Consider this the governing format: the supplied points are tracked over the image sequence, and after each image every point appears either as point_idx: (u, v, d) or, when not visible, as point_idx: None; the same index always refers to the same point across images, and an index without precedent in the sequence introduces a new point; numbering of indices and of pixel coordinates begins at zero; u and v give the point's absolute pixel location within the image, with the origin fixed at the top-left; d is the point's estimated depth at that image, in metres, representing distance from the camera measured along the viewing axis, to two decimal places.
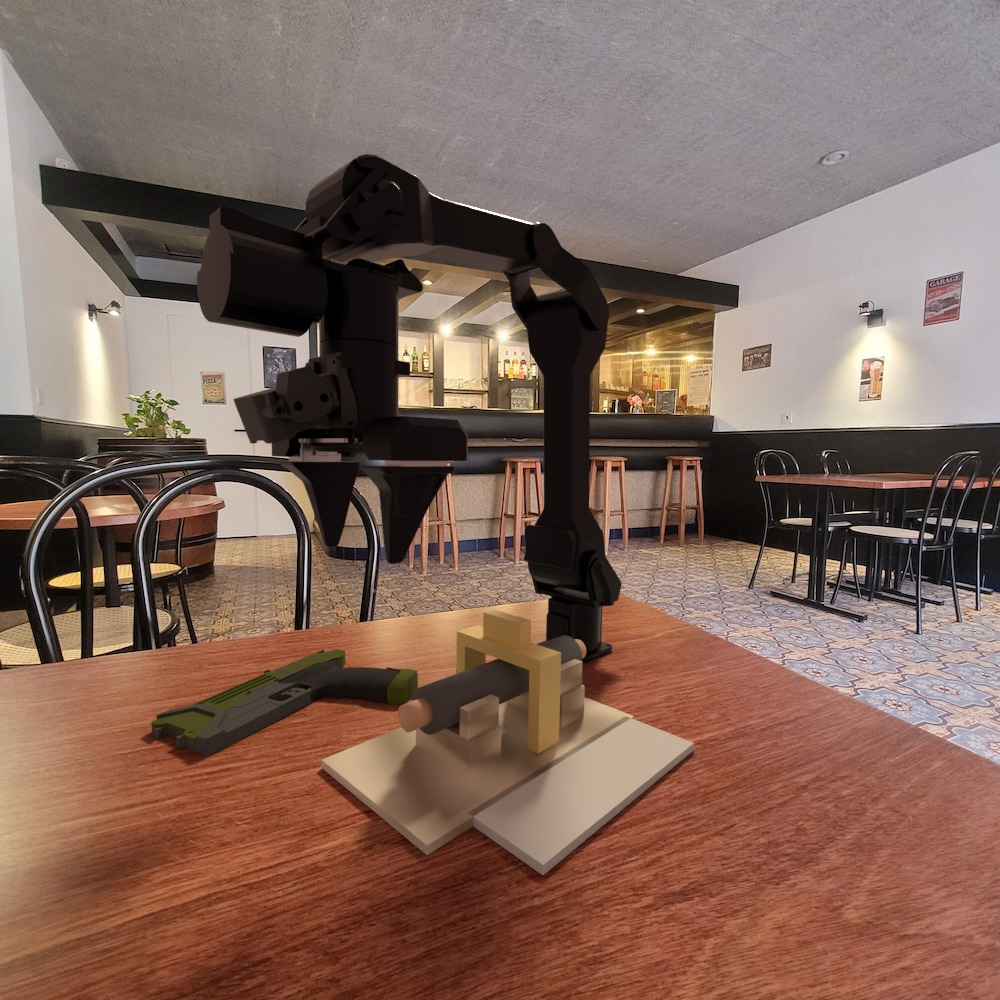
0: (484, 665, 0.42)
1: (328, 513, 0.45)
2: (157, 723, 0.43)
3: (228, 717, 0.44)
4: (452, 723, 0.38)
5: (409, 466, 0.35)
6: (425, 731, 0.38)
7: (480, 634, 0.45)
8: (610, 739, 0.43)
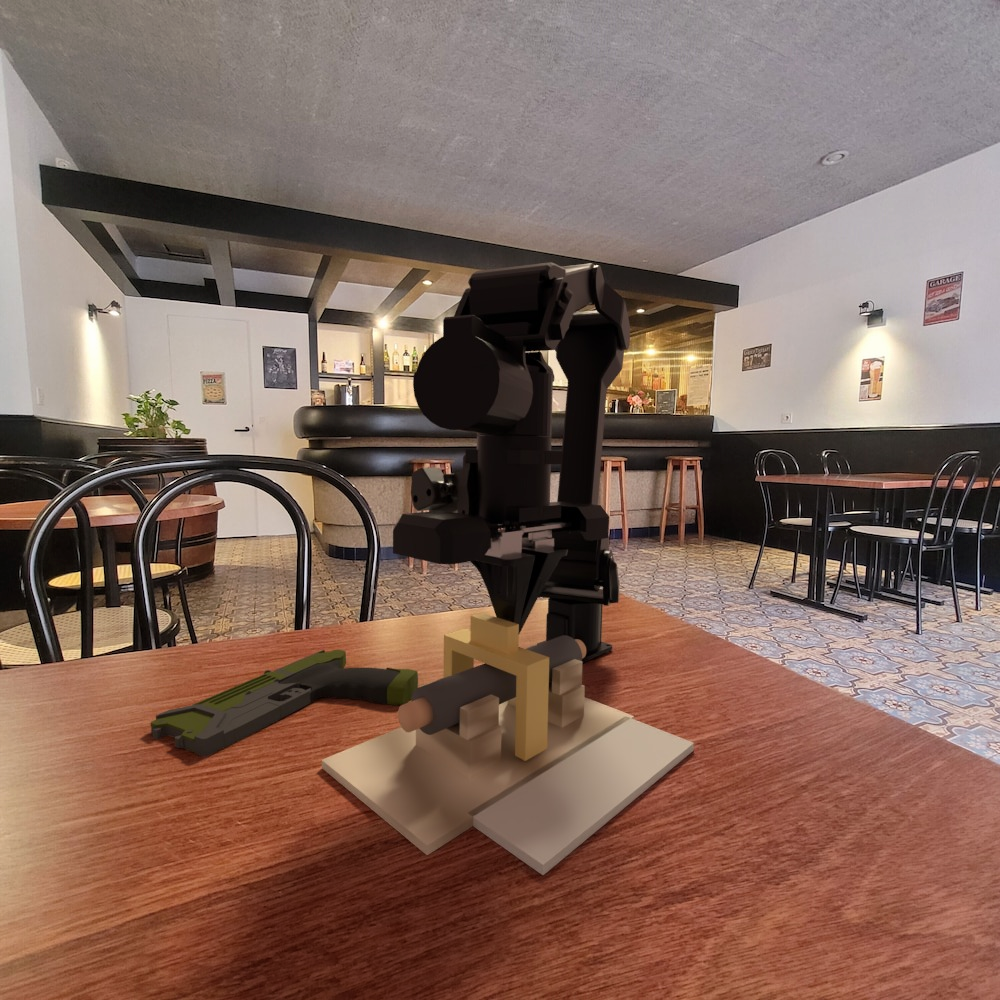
0: (484, 665, 0.42)
1: None
2: (156, 723, 0.43)
3: (227, 717, 0.44)
4: (452, 723, 0.38)
5: None
6: (425, 731, 0.38)
7: (467, 638, 0.44)
8: (610, 739, 0.43)
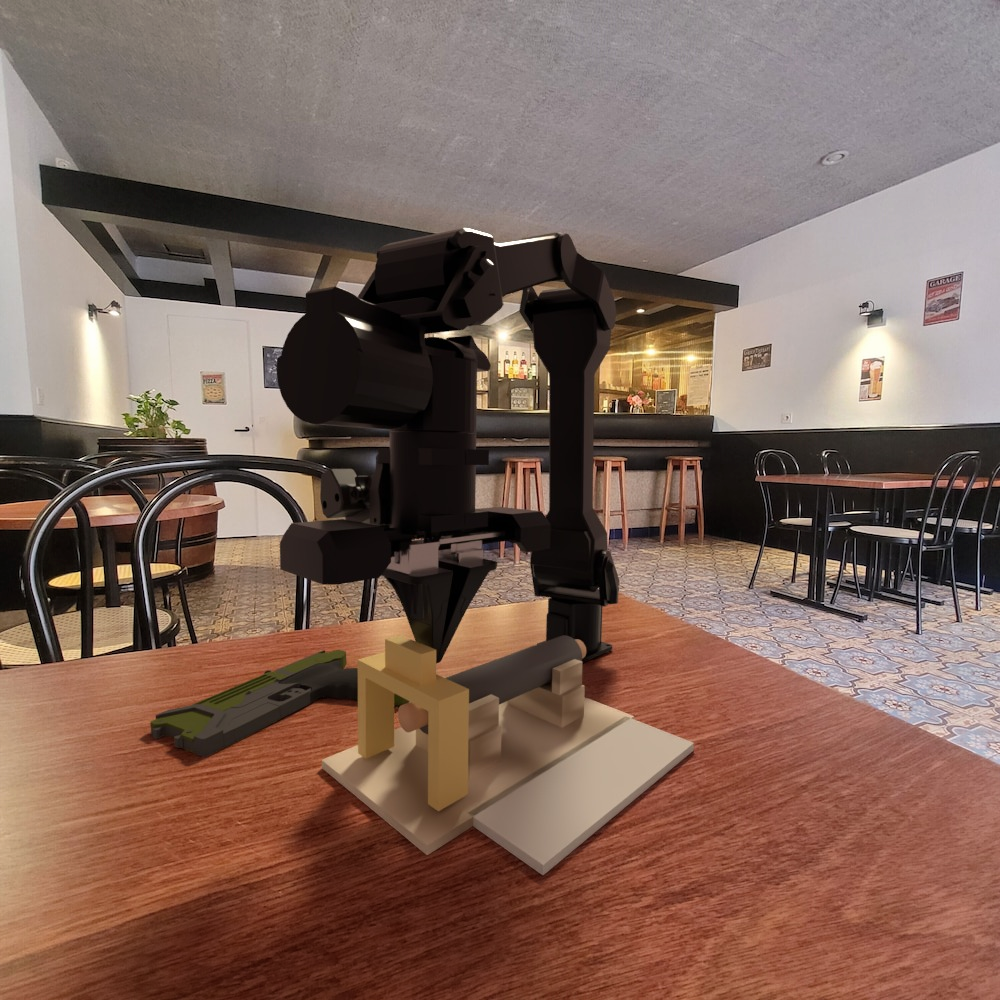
0: (484, 665, 0.42)
1: None
2: (156, 723, 0.43)
3: (227, 717, 0.44)
4: None
5: None
6: (425, 731, 0.38)
7: (383, 664, 0.38)
8: (610, 739, 0.43)
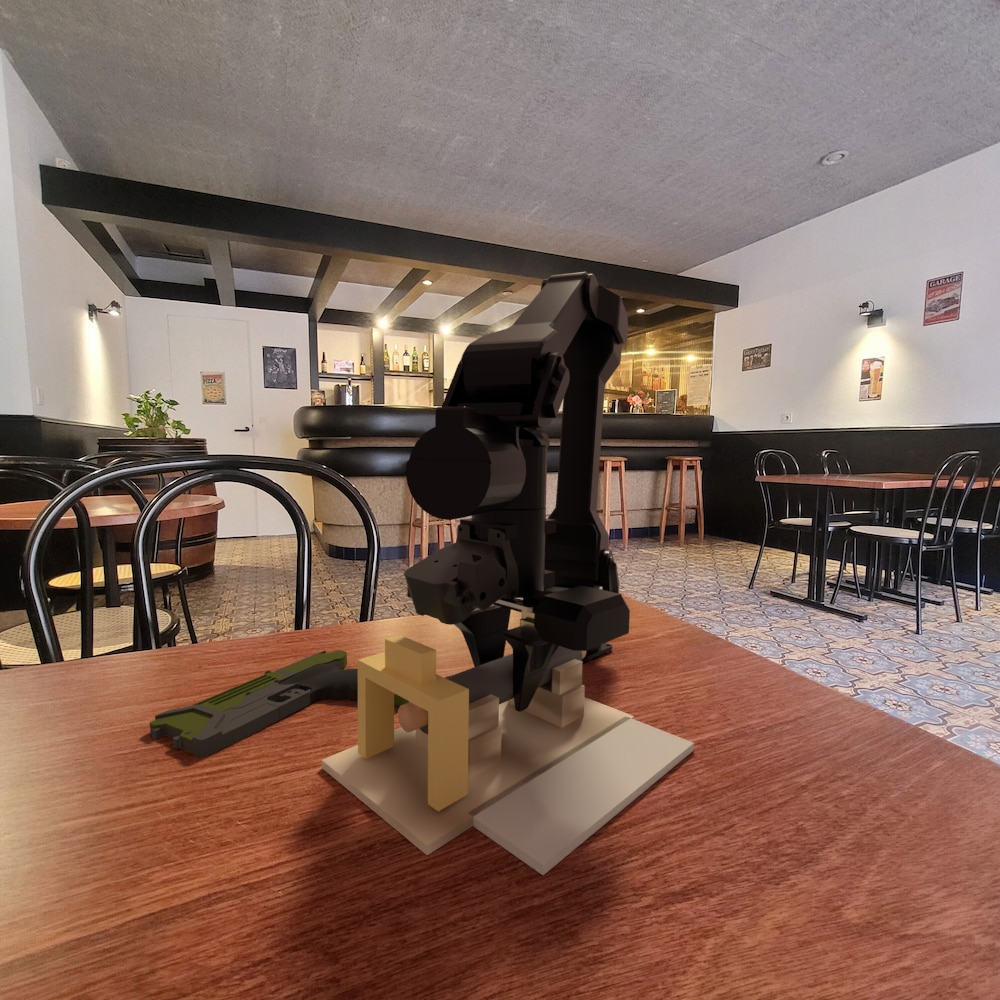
0: (484, 665, 0.42)
1: None
2: (155, 724, 0.43)
3: (226, 718, 0.44)
4: None
5: None
6: (425, 731, 0.38)
7: (383, 664, 0.38)
8: (610, 739, 0.43)
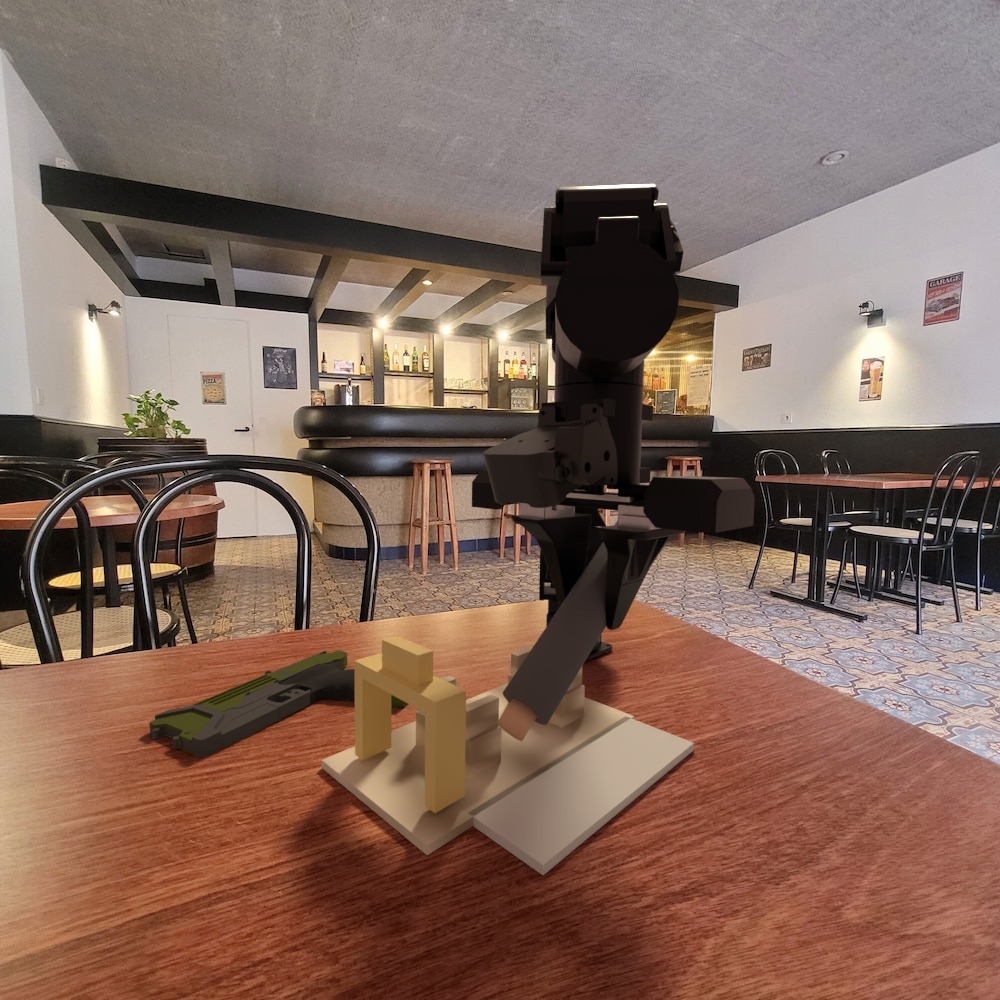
0: (561, 615, 0.35)
1: (569, 578, 0.38)
2: (155, 723, 0.43)
3: (225, 718, 0.44)
4: (558, 704, 0.34)
5: (655, 529, 0.32)
6: (535, 721, 0.34)
7: (380, 665, 0.38)
8: (610, 739, 0.43)
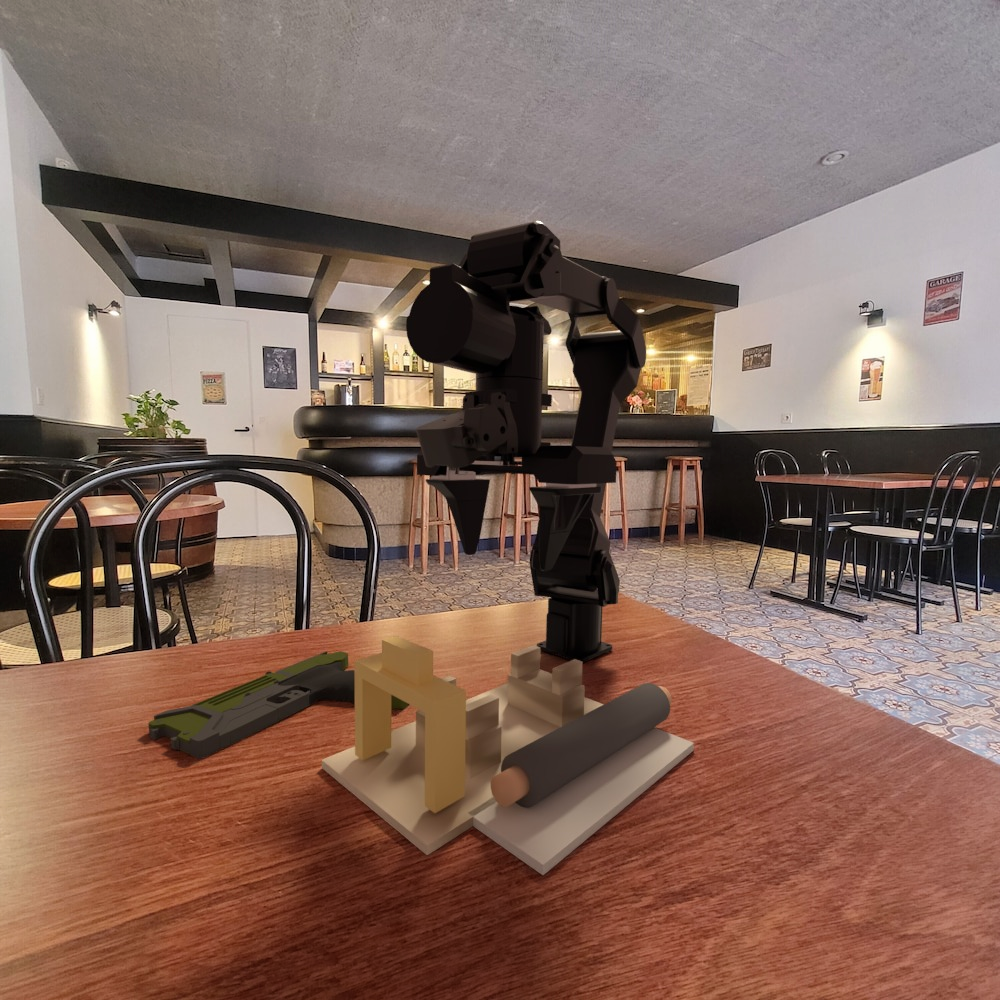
0: None
1: (468, 525, 0.51)
2: (154, 724, 0.43)
3: (224, 719, 0.44)
4: (552, 776, 0.34)
5: (573, 488, 0.42)
6: (532, 802, 0.34)
7: (380, 665, 0.38)
8: None
